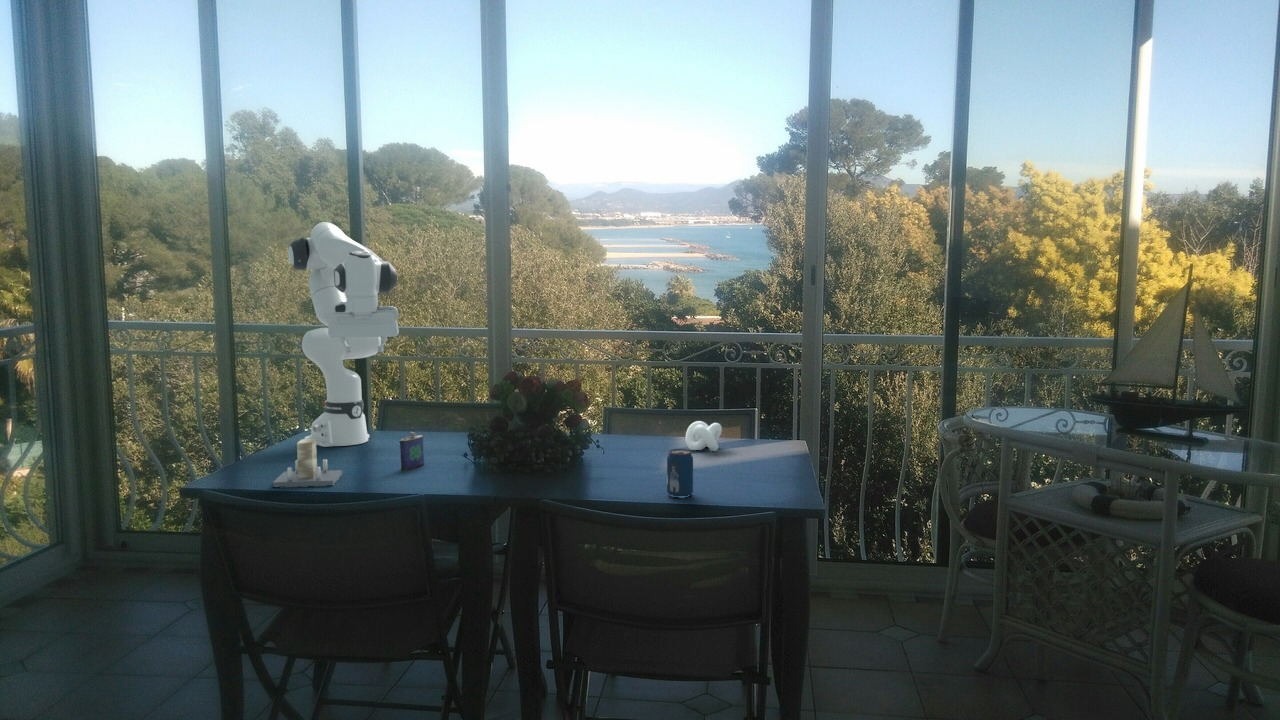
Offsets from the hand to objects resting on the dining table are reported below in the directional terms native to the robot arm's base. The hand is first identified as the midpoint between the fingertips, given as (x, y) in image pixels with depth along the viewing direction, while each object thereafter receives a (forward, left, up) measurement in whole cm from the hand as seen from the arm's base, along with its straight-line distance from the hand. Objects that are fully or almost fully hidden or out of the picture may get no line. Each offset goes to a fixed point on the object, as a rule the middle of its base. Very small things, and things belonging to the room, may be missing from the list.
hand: (364, 352), depth 277 cm
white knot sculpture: (+76, +72, -34) cm, 110 cm away
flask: (+15, +4, -34) cm, 38 cm away
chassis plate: (+3, -24, -34) cm, 42 cm away
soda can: (+98, +21, -34) cm, 106 cm away
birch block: (+3, -24, -33) cm, 41 cm away
